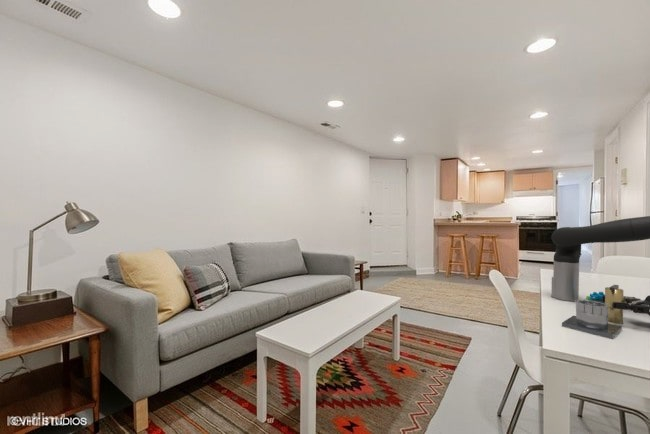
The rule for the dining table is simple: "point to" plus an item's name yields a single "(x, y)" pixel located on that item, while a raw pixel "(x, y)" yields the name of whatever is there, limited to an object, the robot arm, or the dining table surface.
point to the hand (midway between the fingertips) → (607, 301)
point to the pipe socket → (592, 319)
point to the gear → (596, 297)
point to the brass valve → (614, 296)
